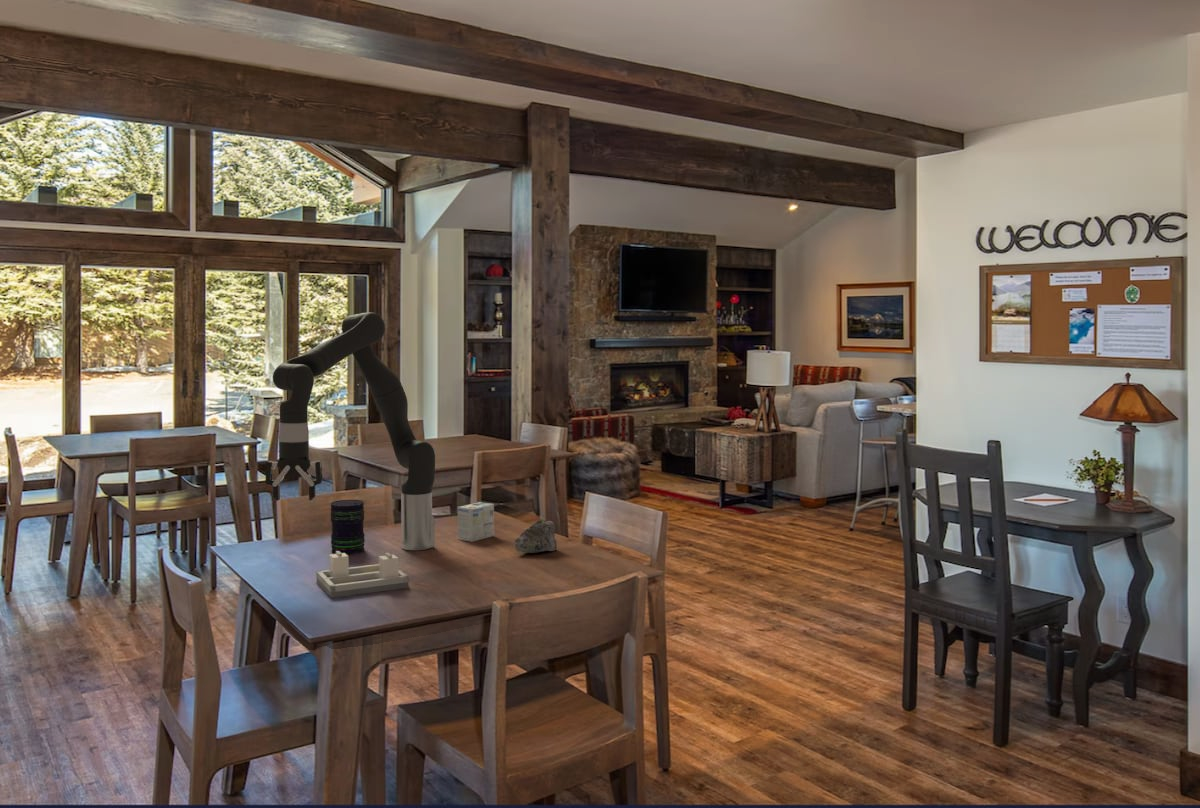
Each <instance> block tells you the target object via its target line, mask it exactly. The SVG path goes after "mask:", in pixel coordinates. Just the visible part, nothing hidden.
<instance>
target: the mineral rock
mask: <svg viewBox="0 0 1200 808" xmlns="http://www.w3.org/2000/svg"><path fill="white" fill-rule="evenodd" d="M555 530H556V525H555V523H554V522H553V521H552V520H547V521H545V520H544V519H537V520H536V521H534V522H533V523H532V524H531V526H530V527H527V528H526V529H525V530H523V532H522V533H520V535H519V536H518V537H516V538H515V539H514V543H515V546H514V549H515V551H516V552H518V553H530V554H537V553H538V554H539V553H541V552H554V551H555V550H556V551H557V544H558V543H557V539H556V537H555V536H556V535H555V534H556V531H555Z"/></svg>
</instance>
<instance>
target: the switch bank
mask: <svg viewBox="0 0 1200 808" xmlns="http://www.w3.org/2000/svg"><path fill="white" fill-rule="evenodd" d="M316 583H317V585H318V586H319V587H320V588H321V589H322V590H323V592H325V593H326V594H327V595H328V597H329V598H330V599H335V598H341V597H342V598H343V597H348V596H357V594H358V595H363V594H372V593H378V592H384V591H385V592H386V591H393V590H400V589H408V588H409V575H407V574H406V573H405V572H403V570H401V569H399V576H398V577H390V578H382V579H379V563H377V564H369V565H368V564H367V565H360V566H352V567H350V566H349V575H345V576H337V577H330V569H328V570H326V569H325V570H318V571H316Z"/></svg>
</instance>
